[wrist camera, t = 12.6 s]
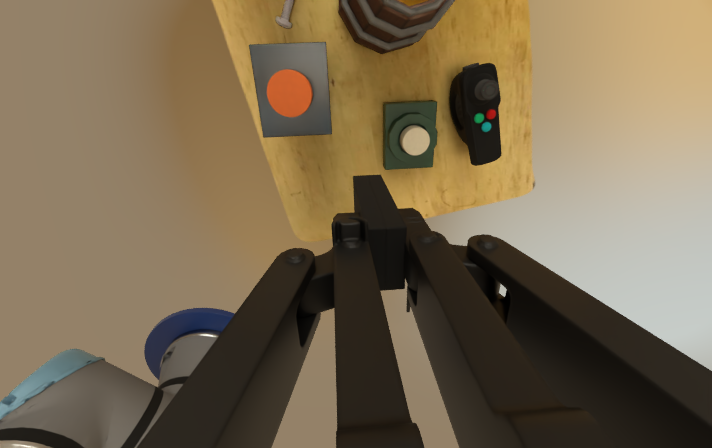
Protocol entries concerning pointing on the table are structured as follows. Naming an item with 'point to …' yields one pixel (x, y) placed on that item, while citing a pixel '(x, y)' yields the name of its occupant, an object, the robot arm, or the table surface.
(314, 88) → the switch near
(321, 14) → the table surface
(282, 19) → the screw
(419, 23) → the mug
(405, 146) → the button far
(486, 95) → the controller
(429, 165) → the switch far
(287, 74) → the button near
